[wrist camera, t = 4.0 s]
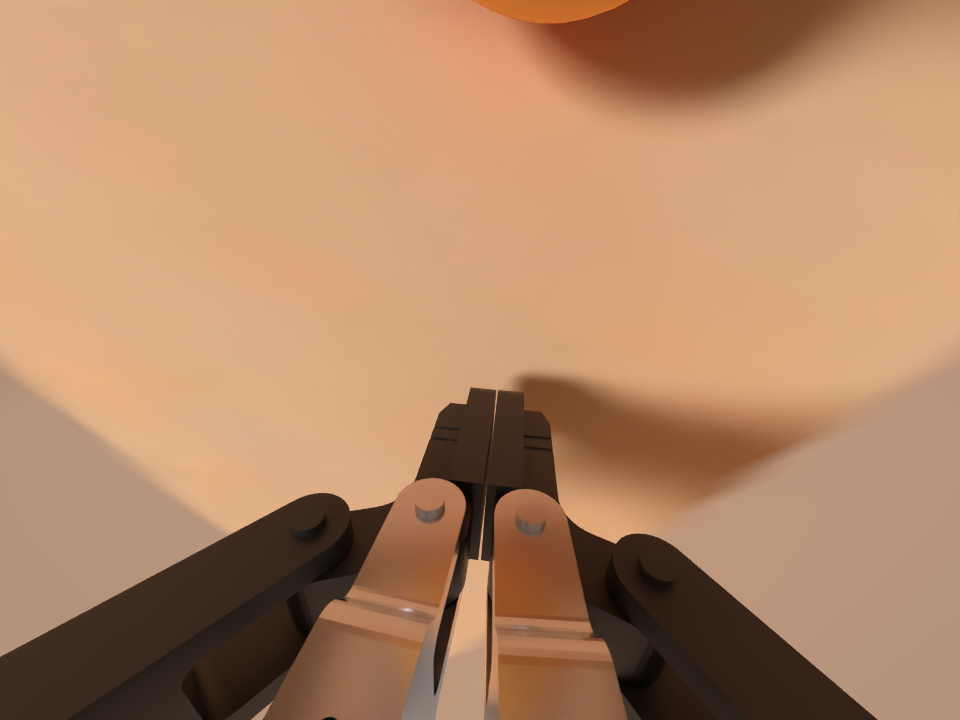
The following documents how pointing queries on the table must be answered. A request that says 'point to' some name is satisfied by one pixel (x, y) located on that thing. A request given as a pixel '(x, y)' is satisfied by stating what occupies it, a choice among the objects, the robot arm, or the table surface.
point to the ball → (550, 9)
